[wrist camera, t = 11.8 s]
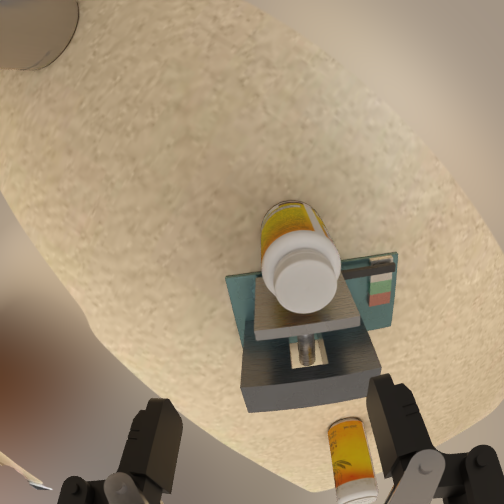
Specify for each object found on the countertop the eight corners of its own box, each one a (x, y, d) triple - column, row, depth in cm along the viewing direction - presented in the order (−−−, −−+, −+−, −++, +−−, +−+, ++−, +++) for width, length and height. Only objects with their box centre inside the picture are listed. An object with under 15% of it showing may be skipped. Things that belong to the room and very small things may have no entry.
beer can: (323, 422, 41) (334, 504, 28) (360, 412, 40) (379, 493, 27) (330, 437, 44) (341, 511, 30) (364, 428, 42) (380, 501, 29)
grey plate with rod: (255, 277, 29) (254, 330, 22) (391, 258, 28) (425, 302, 21) (267, 339, 32) (268, 394, 25) (386, 320, 31) (409, 369, 24)
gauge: (225, 276, 30) (212, 342, 21) (396, 252, 28) (440, 306, 19) (242, 346, 34) (238, 413, 25) (389, 324, 32) (418, 383, 23)
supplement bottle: (249, 237, 28) (244, 301, 19) (281, 187, 26) (293, 230, 17) (299, 265, 29) (315, 335, 20) (332, 218, 27) (367, 274, 18)
